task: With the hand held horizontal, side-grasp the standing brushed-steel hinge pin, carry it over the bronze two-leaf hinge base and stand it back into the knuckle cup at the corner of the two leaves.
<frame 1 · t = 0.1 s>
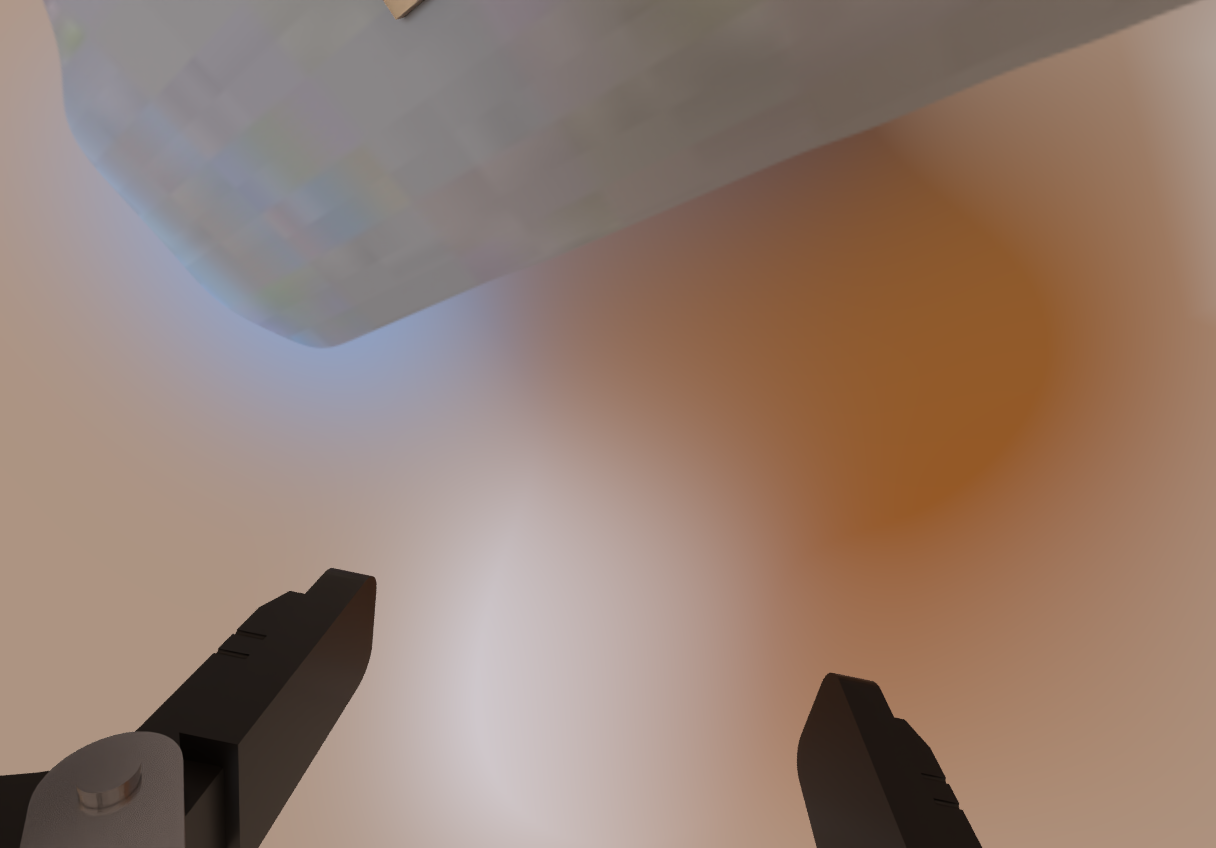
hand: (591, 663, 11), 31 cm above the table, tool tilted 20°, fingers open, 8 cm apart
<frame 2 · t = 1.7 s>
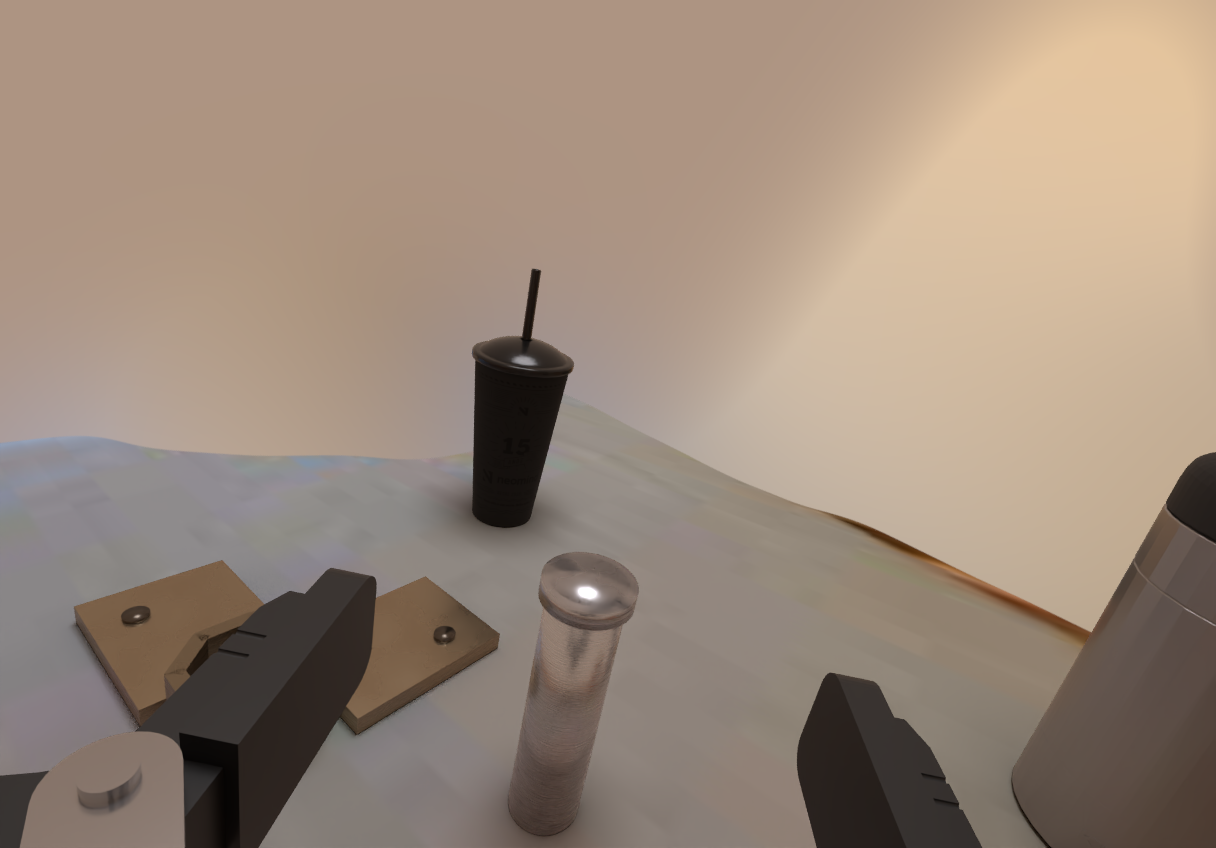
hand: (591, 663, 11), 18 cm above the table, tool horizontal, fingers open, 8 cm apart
hinge pin: (543, 800, 27), on the table
drinking cup: (501, 514, 50), on the table
hinge base: (255, 724, 28), on the table
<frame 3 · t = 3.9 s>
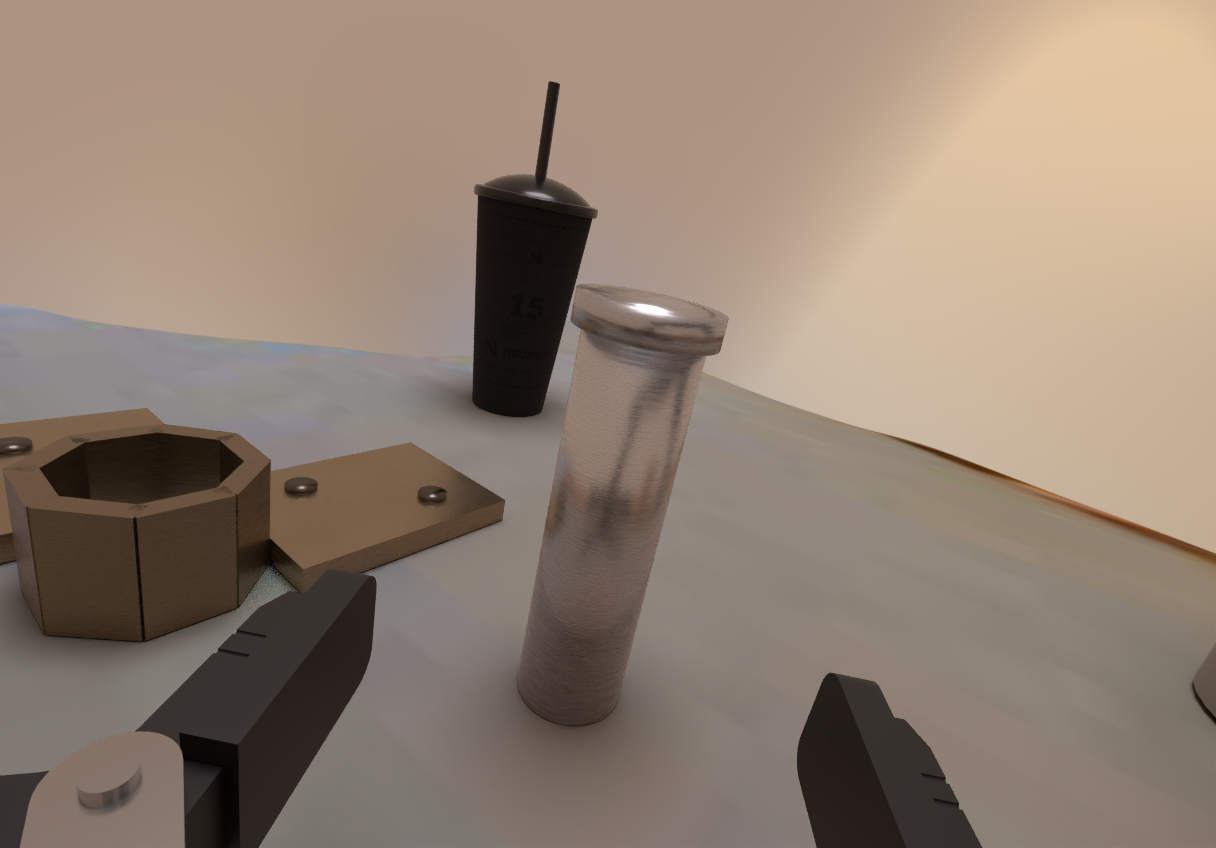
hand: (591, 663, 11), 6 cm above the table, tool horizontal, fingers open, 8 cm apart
hinge pin: (568, 683, 19), on the table
drinking cup: (506, 406, 42), on the table
hinge base: (156, 575, 20), on the table
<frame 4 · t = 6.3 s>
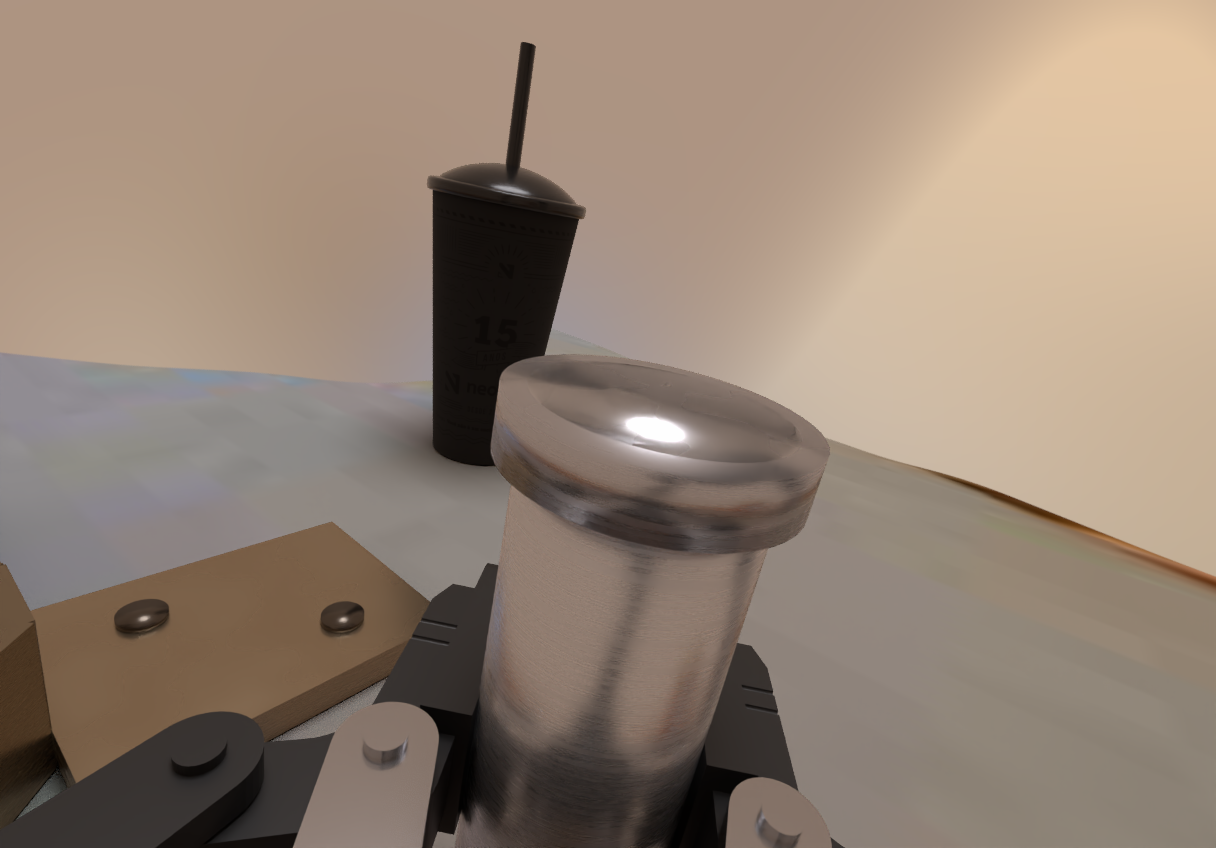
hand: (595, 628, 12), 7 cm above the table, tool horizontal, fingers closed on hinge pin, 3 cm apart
drinking cup: (475, 450, 34), on the table
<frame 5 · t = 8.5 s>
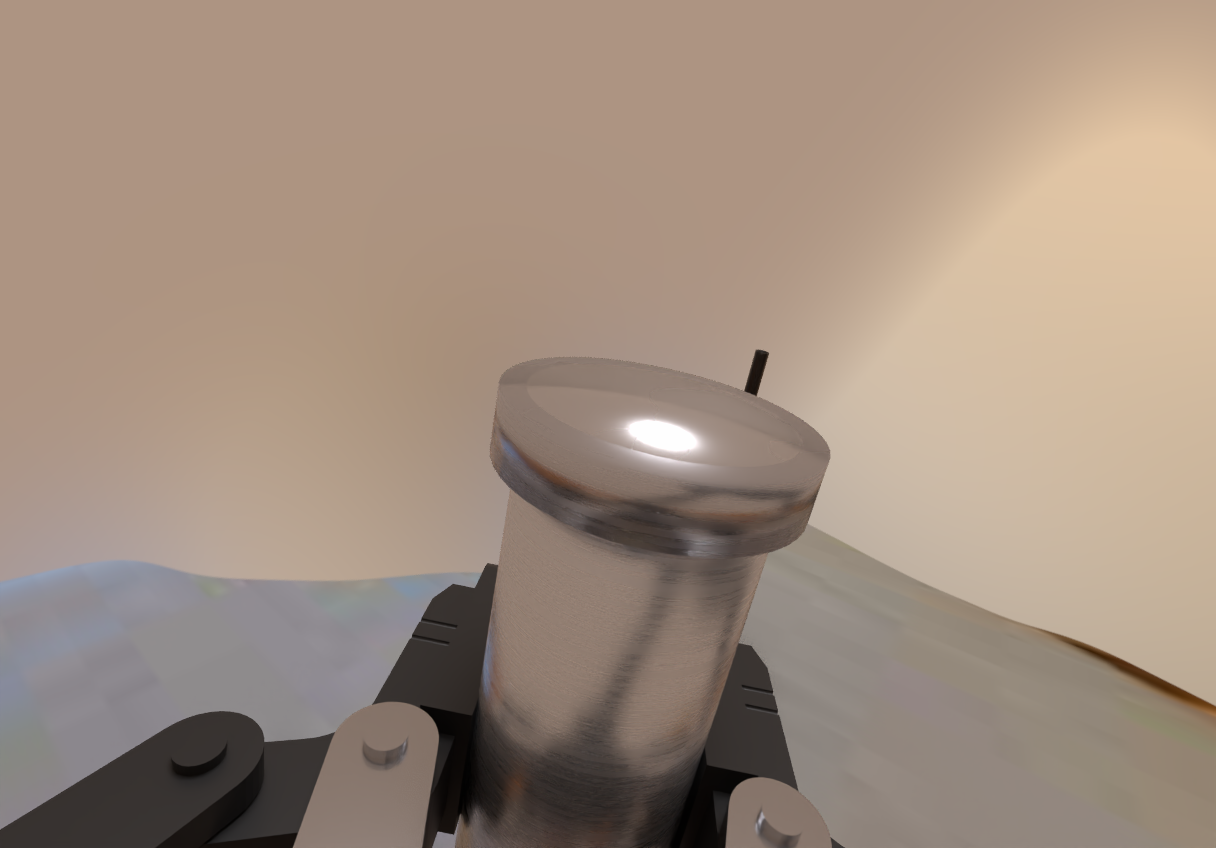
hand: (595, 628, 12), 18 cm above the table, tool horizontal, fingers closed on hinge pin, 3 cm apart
drinking cup: (672, 666, 37), on the table
when the fingers open (8 cm above the table, at t = 11.1 s): hinge pin drops 2 cm, resting in hinge base.
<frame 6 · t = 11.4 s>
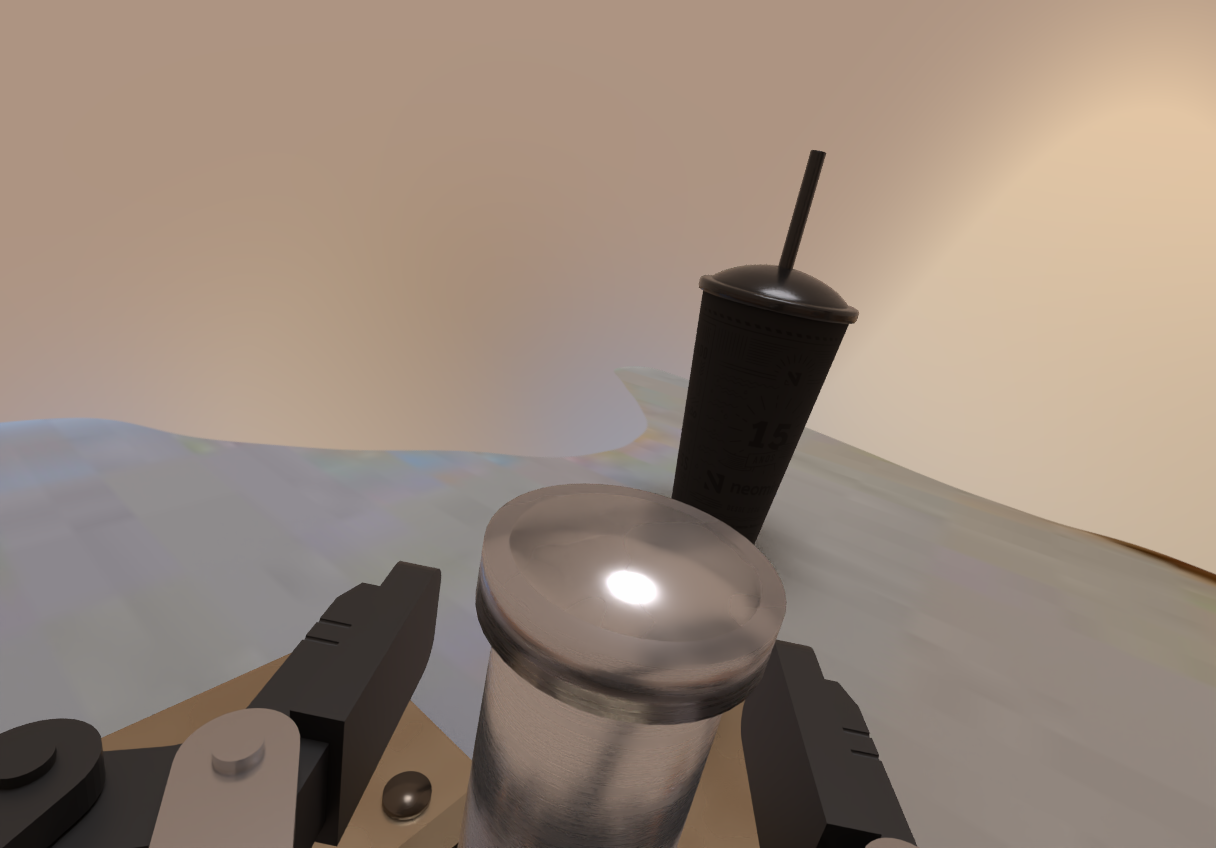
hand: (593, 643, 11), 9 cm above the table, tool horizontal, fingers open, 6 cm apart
drinking cup: (707, 538, 34), on the table
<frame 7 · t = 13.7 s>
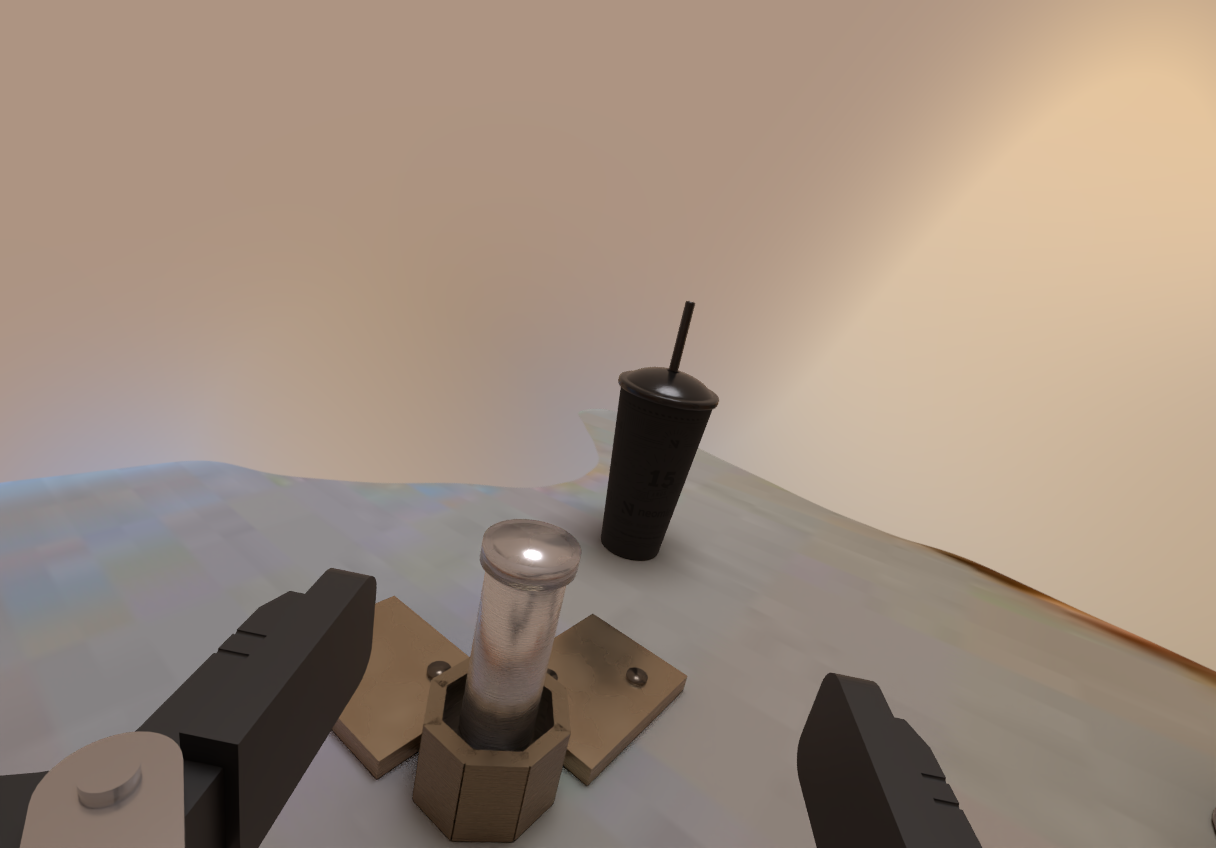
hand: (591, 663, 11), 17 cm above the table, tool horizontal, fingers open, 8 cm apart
hinge pin: (486, 777, 27), resting in hinge base
drinking cup: (628, 546, 50), on the table
hinge base: (486, 775, 27), on the table
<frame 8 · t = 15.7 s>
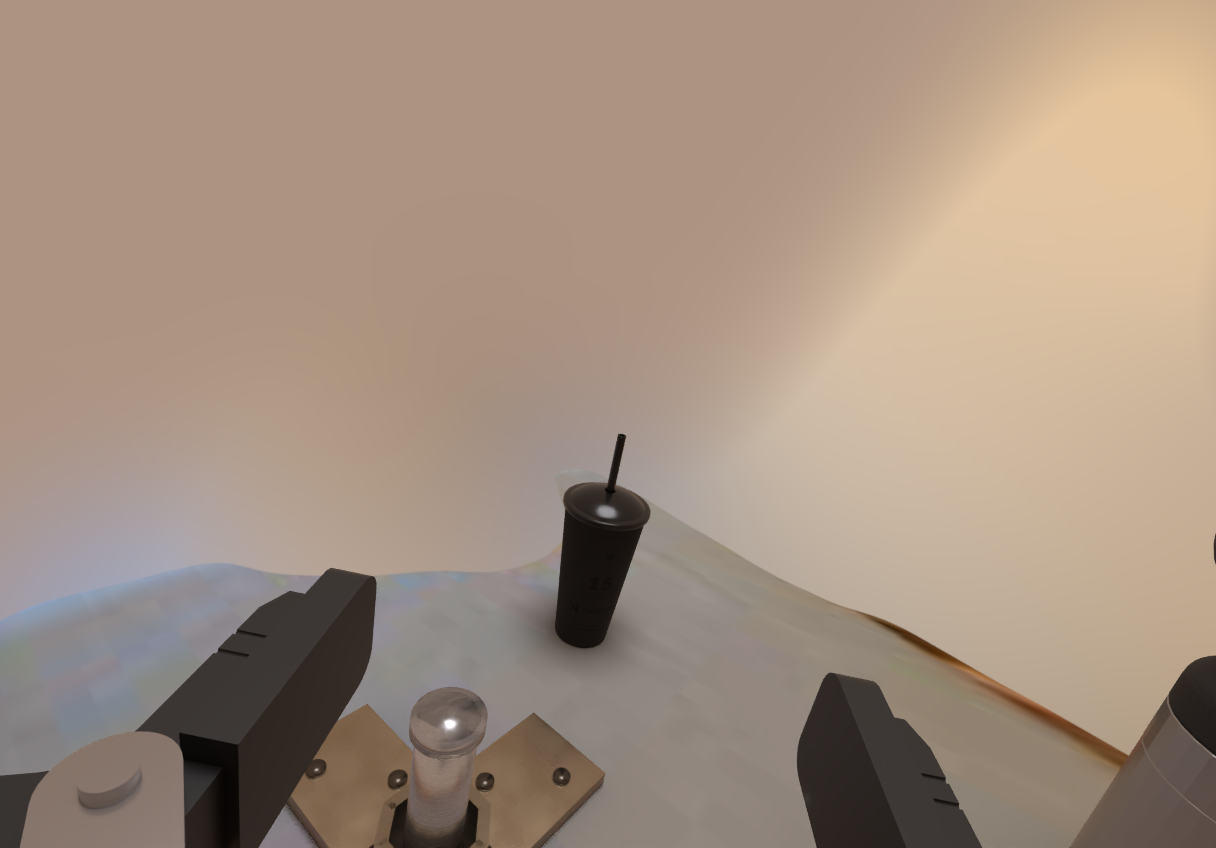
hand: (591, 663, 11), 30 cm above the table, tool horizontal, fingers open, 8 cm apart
drinking cup: (579, 631, 57), on the table
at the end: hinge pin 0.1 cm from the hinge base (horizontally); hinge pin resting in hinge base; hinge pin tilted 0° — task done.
